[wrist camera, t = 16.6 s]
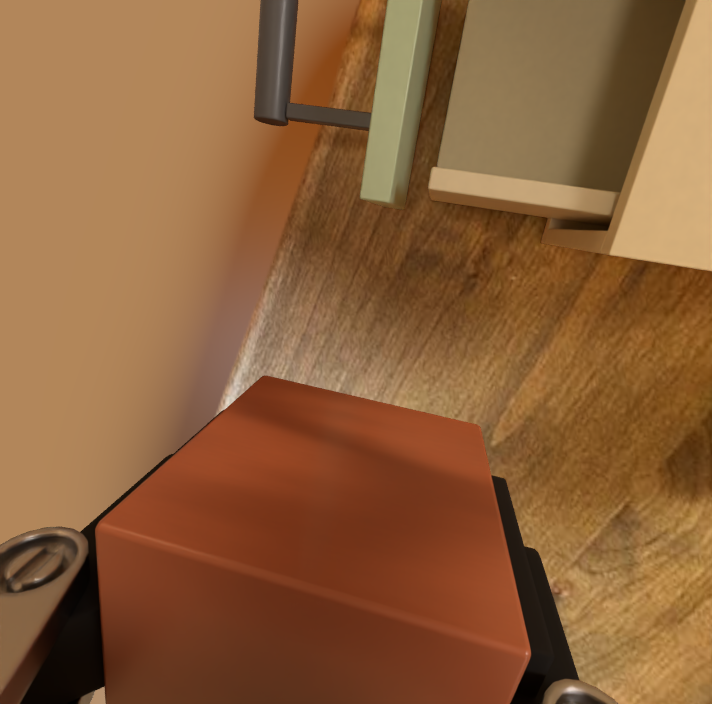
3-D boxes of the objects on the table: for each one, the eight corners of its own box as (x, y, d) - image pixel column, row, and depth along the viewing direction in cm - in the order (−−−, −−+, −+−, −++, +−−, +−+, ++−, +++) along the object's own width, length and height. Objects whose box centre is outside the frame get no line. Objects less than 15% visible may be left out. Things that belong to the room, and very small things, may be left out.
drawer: (287, 192, 24) (220, 177, 16) (308, -54, 20) (234, -215, 13) (636, 245, 21) (743, 257, 14) (735, -24, 17) (951, -203, 10)
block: (246, 541, 11) (107, 779, 6) (262, 373, 9) (91, 524, 5) (429, 593, 10) (425, 899, 6) (481, 423, 9) (536, 657, 4)
